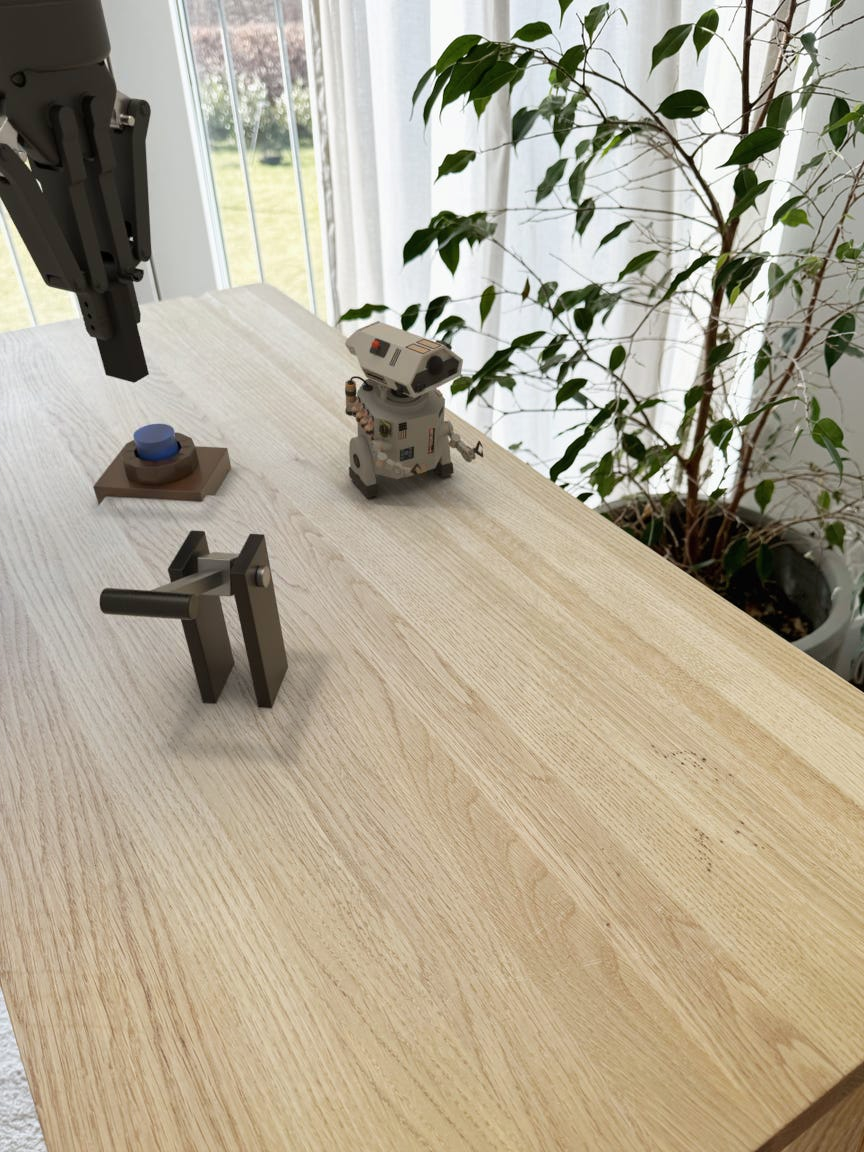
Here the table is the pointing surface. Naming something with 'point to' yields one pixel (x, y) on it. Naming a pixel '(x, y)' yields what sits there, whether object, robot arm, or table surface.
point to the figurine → (400, 406)
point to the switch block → (165, 473)
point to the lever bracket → (254, 614)
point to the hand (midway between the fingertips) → (127, 374)
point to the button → (155, 442)
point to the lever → (174, 592)
